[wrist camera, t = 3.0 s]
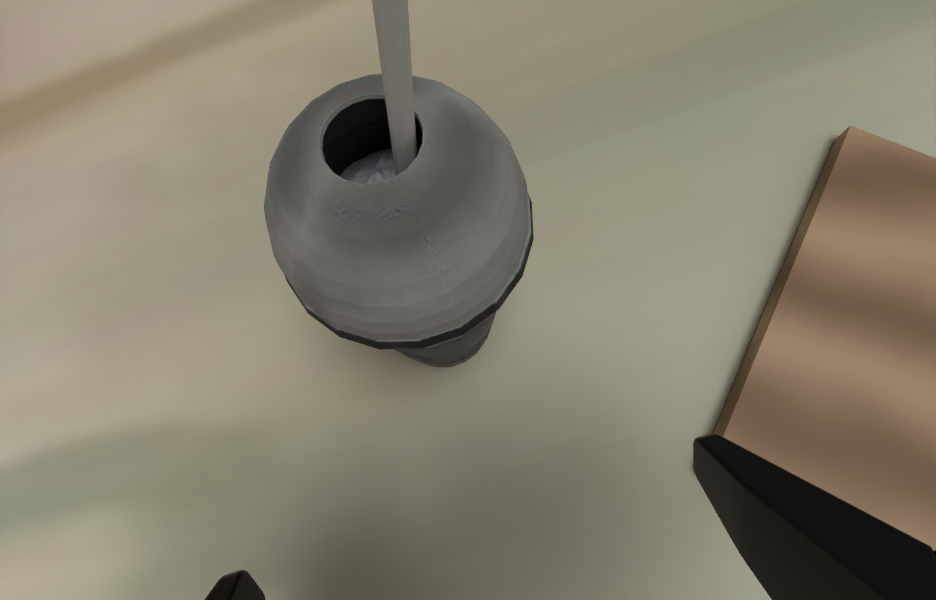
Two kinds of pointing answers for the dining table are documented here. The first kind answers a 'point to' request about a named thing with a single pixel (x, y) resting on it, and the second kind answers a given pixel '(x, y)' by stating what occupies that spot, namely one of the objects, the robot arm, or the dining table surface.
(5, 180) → the dining table surface
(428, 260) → the beverage cup
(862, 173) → the walnut board
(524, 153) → the dining table surface
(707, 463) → the robot arm
